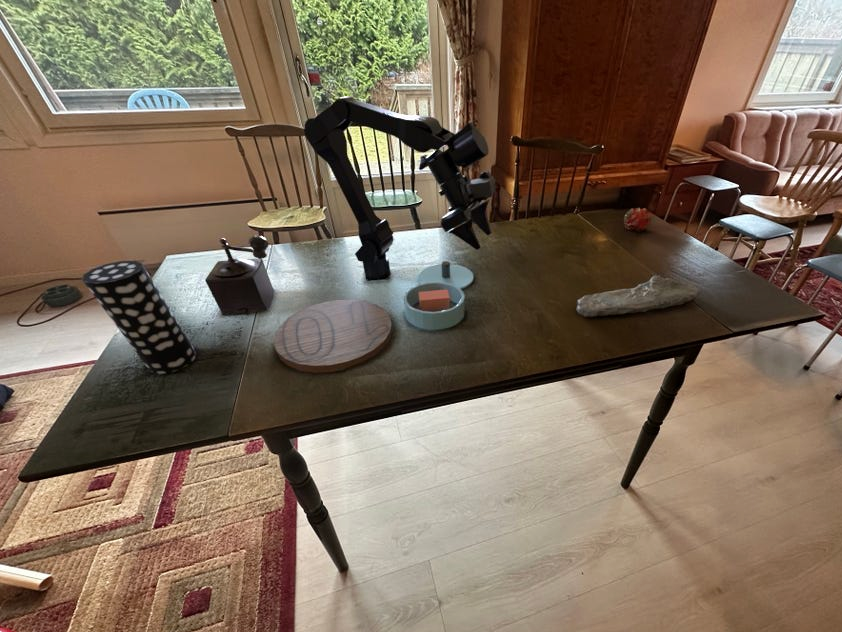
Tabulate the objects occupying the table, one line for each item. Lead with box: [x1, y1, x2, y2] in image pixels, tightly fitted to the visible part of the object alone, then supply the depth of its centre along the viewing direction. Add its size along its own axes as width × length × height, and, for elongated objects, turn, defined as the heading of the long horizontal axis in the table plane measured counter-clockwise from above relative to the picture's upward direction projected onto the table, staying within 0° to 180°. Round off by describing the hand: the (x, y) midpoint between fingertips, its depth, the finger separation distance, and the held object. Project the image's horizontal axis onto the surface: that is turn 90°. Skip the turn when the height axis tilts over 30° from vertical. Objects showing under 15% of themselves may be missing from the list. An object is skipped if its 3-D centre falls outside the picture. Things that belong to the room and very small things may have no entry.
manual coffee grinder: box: [204, 235, 275, 316], centre depth 89 cm, size 16×11×18 cm
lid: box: [418, 260, 474, 290], centre depth 104 cm, size 15×15×5 cm
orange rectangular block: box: [419, 290, 451, 312], centre depth 90 cm, size 7×4×5 cm, turn 102°
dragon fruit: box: [622, 207, 652, 232], centre depth 135 cm, size 8×8×12 cm
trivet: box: [273, 299, 393, 374], centre depth 84 cm, size 25×25×2 cm
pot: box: [402, 282, 466, 331], centre depth 90 cm, size 14×14×5 cm
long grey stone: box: [576, 275, 699, 318], centre depth 96 cm, size 35×5×10 cm
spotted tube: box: [81, 260, 198, 375], centre depth 70 cm, size 8×8×20 cm
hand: (484, 241), depth 90 cm, fingers open, 9 cm apart
